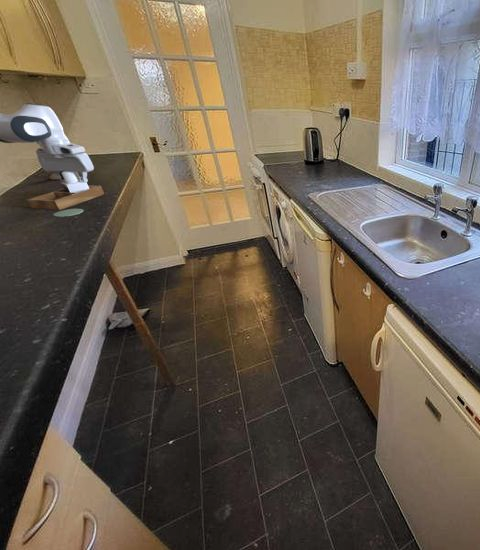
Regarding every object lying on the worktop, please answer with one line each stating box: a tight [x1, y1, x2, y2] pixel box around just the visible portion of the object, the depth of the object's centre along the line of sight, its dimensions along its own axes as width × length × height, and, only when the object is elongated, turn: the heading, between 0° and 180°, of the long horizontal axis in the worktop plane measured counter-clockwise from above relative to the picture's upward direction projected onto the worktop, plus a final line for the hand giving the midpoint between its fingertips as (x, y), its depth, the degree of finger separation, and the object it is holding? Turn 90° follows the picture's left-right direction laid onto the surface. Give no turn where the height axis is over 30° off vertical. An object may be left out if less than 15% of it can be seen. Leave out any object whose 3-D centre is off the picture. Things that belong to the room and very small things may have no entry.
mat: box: [52, 208, 84, 218], centre depth 117 cm, size 9×9×1 cm
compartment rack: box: [25, 185, 105, 211], centre depth 128 cm, size 12×23×4 cm, turn 178°
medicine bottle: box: [59, 171, 89, 192], centre depth 131 cm, size 7×7×12 cm
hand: (75, 181), depth 130 cm, fingers closed on medicine bottle, 8 cm apart
